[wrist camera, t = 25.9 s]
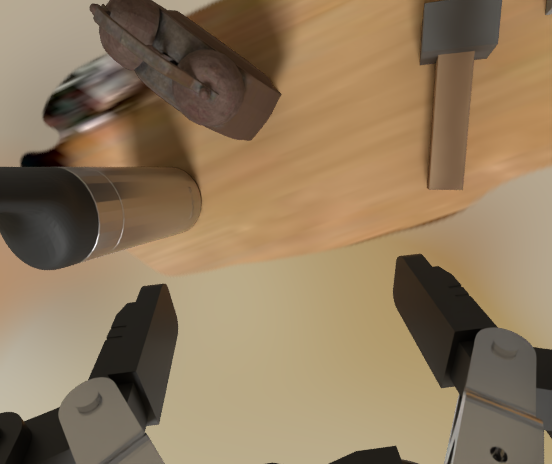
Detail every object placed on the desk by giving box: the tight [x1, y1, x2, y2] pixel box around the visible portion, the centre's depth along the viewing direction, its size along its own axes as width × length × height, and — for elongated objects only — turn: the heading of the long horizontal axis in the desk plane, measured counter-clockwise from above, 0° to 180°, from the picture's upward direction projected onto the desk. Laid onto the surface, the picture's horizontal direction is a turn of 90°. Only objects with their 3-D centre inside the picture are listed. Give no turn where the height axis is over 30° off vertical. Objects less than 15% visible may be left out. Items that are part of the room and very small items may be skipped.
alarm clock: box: [90, 0, 281, 141], centre depth 34 cm, size 15×7×20 cm, turn 54°
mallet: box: [420, 0, 502, 190], centre depth 34 cm, size 6×16×4 cm, turn 0°
